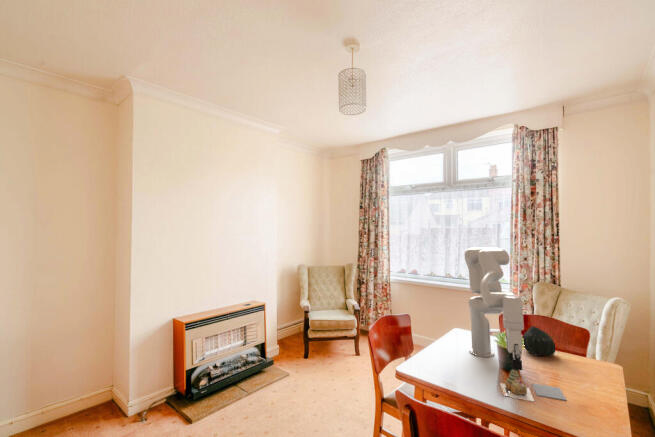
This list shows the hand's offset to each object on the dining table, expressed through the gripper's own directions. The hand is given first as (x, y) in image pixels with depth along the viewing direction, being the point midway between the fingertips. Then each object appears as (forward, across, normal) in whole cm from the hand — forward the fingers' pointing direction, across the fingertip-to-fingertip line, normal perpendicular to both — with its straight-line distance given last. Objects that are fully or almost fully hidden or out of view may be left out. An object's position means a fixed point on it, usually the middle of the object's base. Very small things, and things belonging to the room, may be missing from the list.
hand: (515, 364), depth 128 cm
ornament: (+12, -1, 0) cm, 12 cm away
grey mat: (+12, -6, +12) cm, 18 cm away
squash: (+11, -50, +17) cm, 54 cm away
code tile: (+12, -1, 0) cm, 12 cm away
